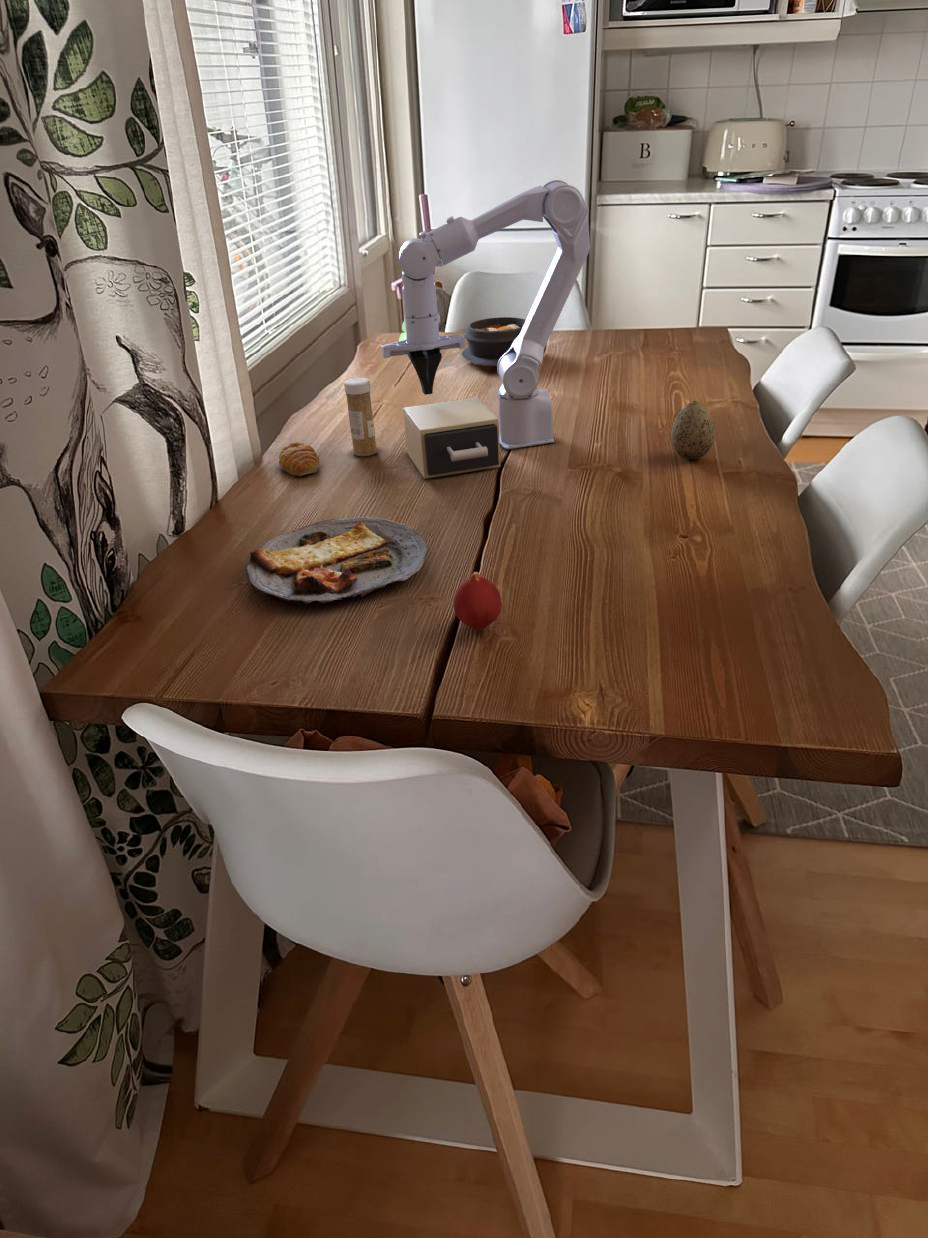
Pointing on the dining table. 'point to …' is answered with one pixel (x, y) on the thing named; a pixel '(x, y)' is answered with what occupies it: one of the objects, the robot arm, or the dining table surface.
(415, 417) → the mini desk drawer box
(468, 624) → the onion
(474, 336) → the casserole
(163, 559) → the dining table surface
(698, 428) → the decorative egg
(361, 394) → the sprinkles bottle
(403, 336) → the seedling
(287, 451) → the pastry
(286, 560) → the food plate
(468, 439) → the pod drawer
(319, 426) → the dining table surface
